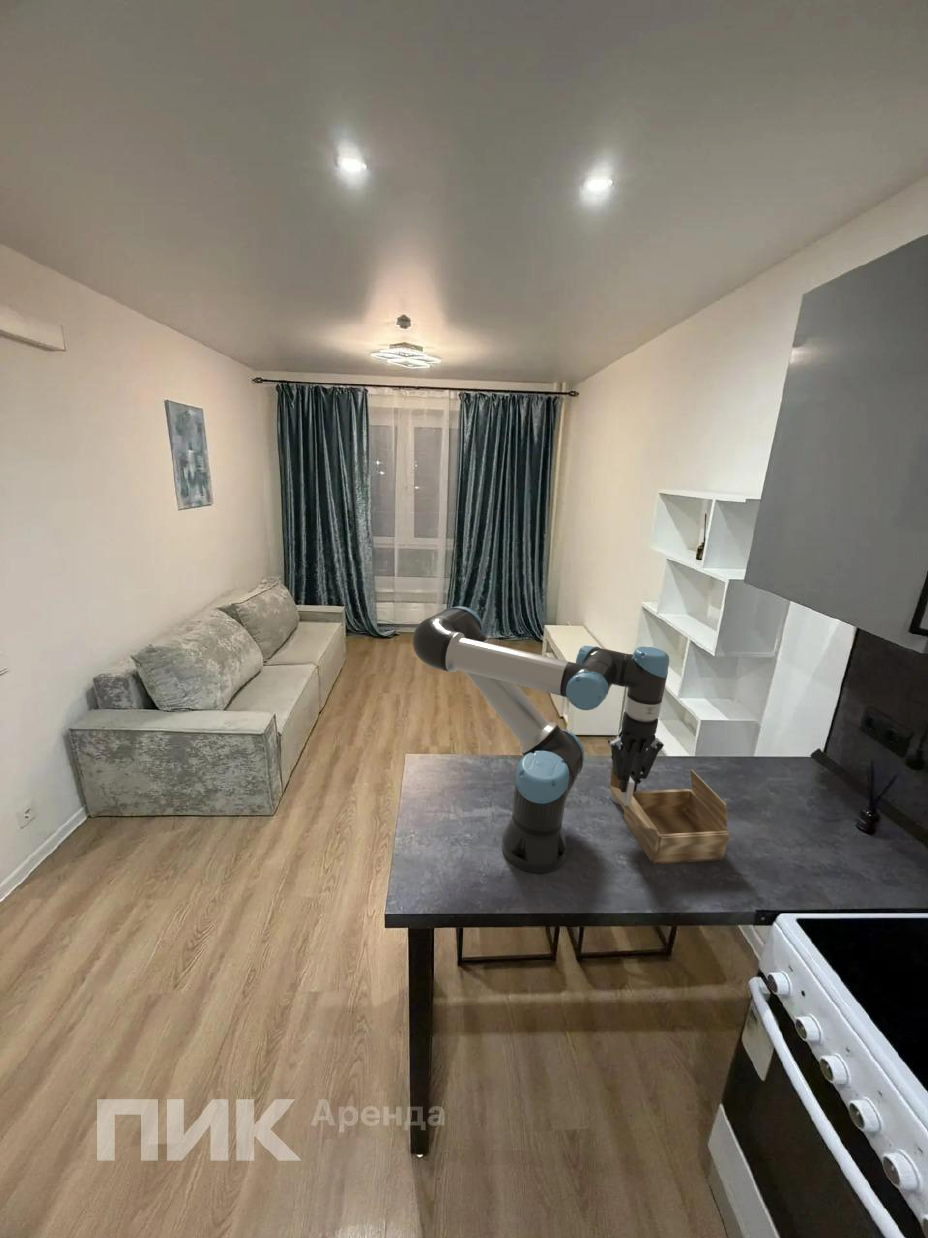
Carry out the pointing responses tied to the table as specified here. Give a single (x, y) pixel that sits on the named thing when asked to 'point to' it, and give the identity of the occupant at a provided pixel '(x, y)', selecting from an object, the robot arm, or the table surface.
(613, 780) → the coffee cup
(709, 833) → the crate
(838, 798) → the table surface
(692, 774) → the flap
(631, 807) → the flap
